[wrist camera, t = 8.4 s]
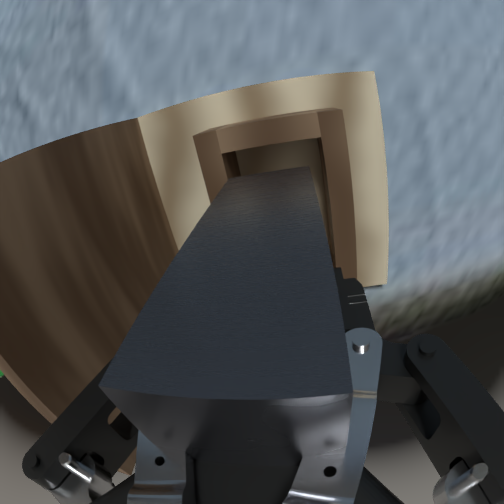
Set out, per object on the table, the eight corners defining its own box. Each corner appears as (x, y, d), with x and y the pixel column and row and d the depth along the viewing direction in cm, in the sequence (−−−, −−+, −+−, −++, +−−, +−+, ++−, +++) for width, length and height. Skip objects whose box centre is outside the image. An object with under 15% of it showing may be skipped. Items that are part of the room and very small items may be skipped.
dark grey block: (309, 165, 14) (353, 392, 3) (324, 298, 17) (335, 502, 7) (228, 178, 14) (98, 385, 4) (259, 304, 18) (225, 500, 8)
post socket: (370, 72, 17) (591, 49, 1) (384, 277, 26) (441, 476, 9) (123, 123, 21) (-84, 216, 5) (183, 298, 30) (107, 467, 13)
